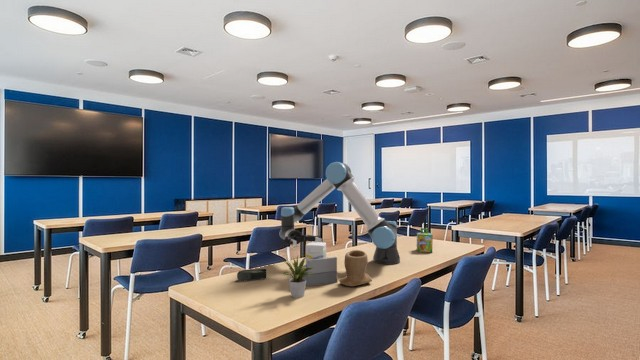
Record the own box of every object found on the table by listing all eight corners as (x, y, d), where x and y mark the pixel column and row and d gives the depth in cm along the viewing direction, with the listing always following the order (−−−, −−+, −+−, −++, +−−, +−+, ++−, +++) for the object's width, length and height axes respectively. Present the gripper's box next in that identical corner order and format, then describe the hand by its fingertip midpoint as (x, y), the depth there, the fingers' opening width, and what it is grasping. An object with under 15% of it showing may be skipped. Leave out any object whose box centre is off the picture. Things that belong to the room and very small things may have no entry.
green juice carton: (417, 252, 221) (417, 229, 222) (416, 249, 231) (416, 227, 231) (432, 252, 220) (432, 229, 220) (430, 249, 229) (430, 227, 229)
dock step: (322, 273, 172) (322, 251, 172) (337, 282, 157) (337, 257, 157) (296, 276, 166) (295, 253, 166) (308, 286, 152) (308, 260, 152)
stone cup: (351, 290, 145) (351, 255, 145) (335, 283, 155) (335, 250, 155) (379, 285, 153) (379, 251, 153) (362, 278, 163) (362, 246, 163)
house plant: (283, 304, 129) (283, 261, 129) (273, 293, 142) (273, 253, 142) (318, 299, 135) (318, 257, 135) (305, 289, 148) (305, 250, 148)
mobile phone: (265, 267, 166) (234, 270, 160) (267, 269, 163) (235, 271, 157) (265, 278, 166) (233, 281, 160) (267, 279, 163) (234, 282, 157)
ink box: (323, 271, 157) (323, 245, 157) (305, 270, 159) (305, 244, 159) (326, 266, 165) (326, 242, 165) (309, 265, 167) (309, 241, 167)
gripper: (314, 241, 196) (331, 247, 177) (272, 245, 186) (285, 252, 166) (314, 228, 196) (331, 233, 177) (271, 231, 186) (284, 237, 166)
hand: (308, 242), depth 172 cm, fingers open, 13 cm apart
